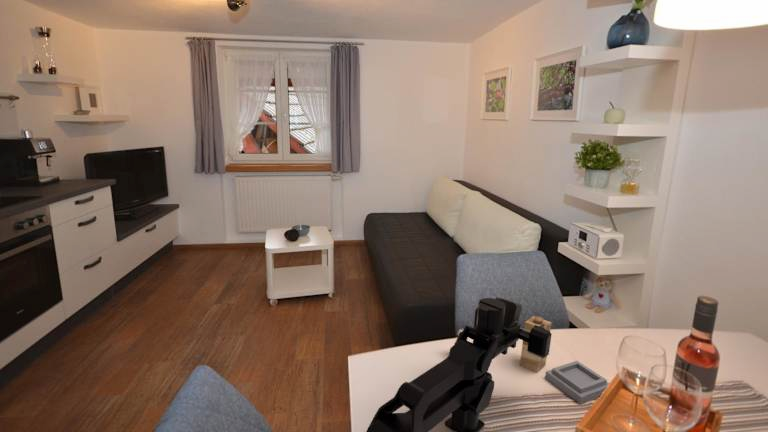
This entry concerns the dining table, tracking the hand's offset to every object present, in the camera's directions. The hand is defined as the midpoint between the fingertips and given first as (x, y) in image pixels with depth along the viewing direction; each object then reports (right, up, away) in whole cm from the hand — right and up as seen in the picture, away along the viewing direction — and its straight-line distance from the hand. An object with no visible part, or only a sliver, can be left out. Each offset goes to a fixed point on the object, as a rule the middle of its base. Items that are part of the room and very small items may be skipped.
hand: (526, 319), depth 107 cm
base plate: (+13, -17, +1) cm, 22 cm away
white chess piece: (-14, -14, +13) cm, 23 cm away
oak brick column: (+5, -15, +9) cm, 18 cm away
